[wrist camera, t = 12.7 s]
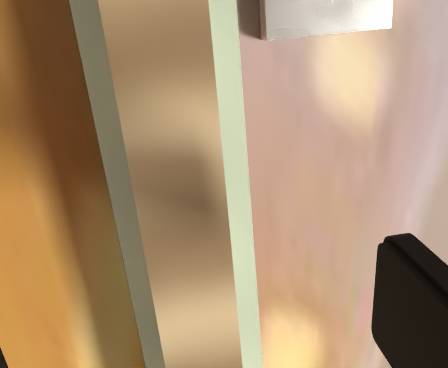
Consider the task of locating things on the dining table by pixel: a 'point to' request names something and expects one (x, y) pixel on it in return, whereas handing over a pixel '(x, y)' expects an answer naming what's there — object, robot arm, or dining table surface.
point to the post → (321, 17)
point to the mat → (122, 187)
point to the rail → (177, 173)
